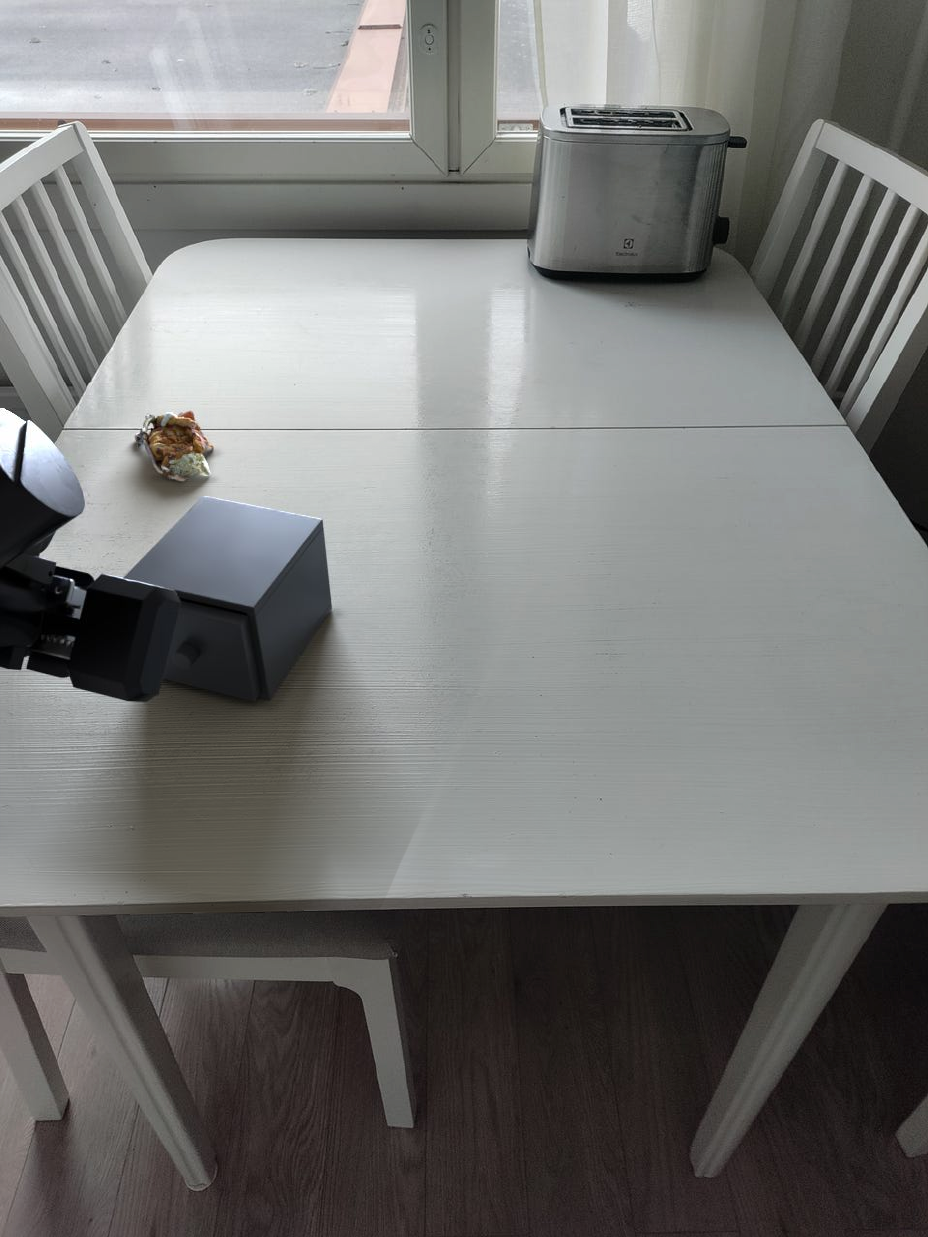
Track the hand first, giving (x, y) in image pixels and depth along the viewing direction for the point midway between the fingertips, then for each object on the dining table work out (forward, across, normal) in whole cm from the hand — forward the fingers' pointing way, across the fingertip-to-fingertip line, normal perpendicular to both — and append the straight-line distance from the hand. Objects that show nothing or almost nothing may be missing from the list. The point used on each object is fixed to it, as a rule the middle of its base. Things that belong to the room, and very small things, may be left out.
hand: (99, 626), depth 61 cm
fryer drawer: (+18, 0, 0) cm, 18 cm away
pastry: (+38, +20, -18) cm, 47 cm away
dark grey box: (+20, 0, -1) cm, 20 cm away
